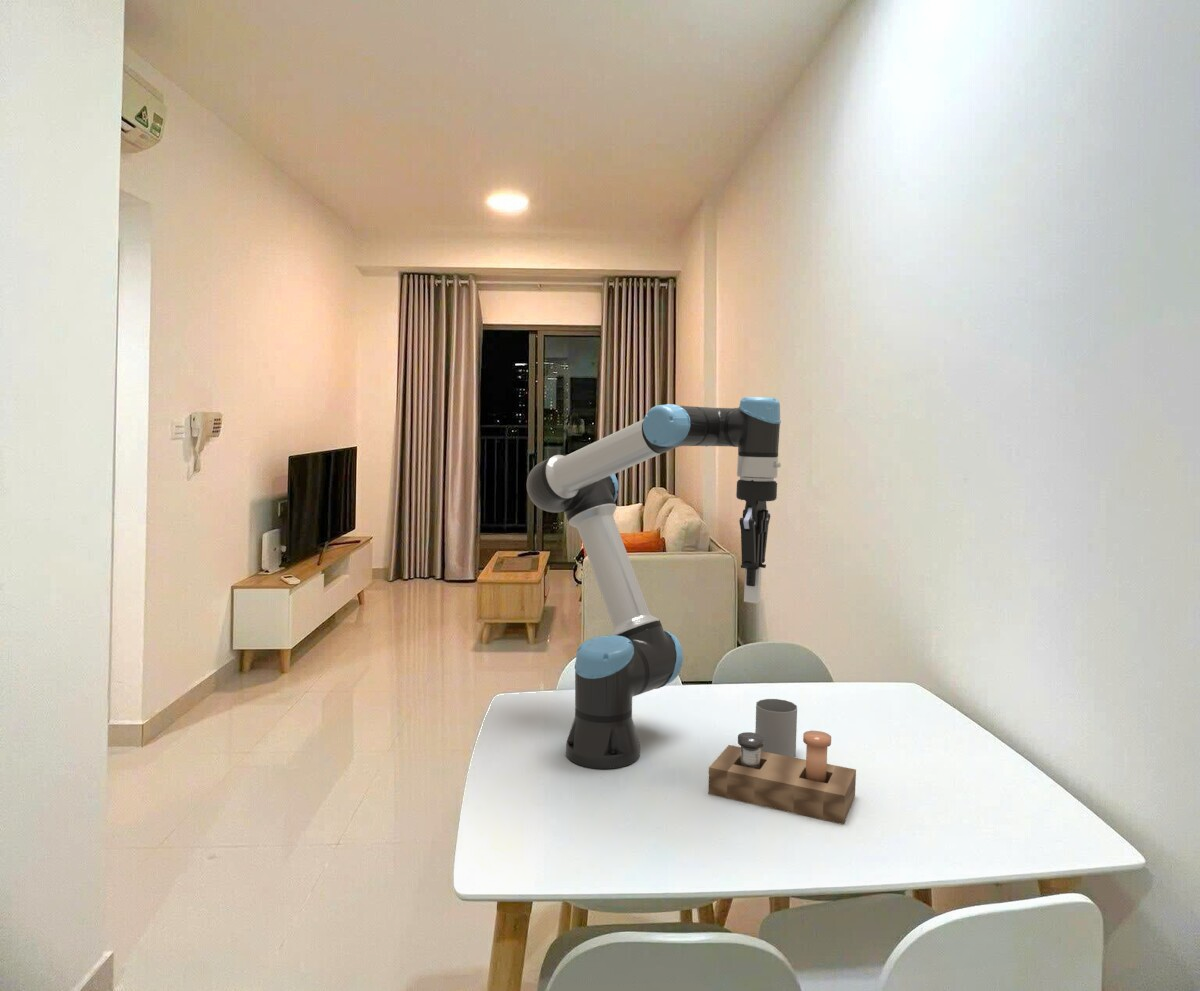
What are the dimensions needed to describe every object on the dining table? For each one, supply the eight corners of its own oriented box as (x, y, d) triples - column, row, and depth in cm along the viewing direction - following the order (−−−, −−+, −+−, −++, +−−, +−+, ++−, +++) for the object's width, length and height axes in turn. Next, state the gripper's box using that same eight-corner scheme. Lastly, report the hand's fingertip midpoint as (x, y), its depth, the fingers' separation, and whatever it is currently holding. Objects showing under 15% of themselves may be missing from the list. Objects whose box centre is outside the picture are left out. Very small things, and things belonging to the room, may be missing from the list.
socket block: (708, 793, 144) (708, 767, 143) (728, 769, 154) (728, 744, 154) (843, 824, 133) (844, 795, 133) (855, 796, 144) (856, 769, 143)
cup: (796, 762, 158) (797, 714, 158) (754, 758, 160) (756, 710, 159) (794, 746, 167) (796, 700, 166) (755, 743, 168) (756, 697, 168)
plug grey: (733, 785, 145) (734, 739, 145) (740, 775, 149) (742, 730, 149) (758, 790, 143) (760, 743, 142) (765, 780, 147) (767, 735, 147)
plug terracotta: (799, 785, 140) (800, 737, 139) (805, 775, 144) (806, 728, 143) (826, 791, 137) (828, 742, 137) (831, 780, 142) (833, 733, 141)
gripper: (767, 481, 141) (761, 610, 143) (785, 478, 153) (779, 598, 155) (727, 479, 145) (722, 605, 147) (747, 476, 156) (742, 593, 158)
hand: (751, 601), depth 151 cm, fingers closed
